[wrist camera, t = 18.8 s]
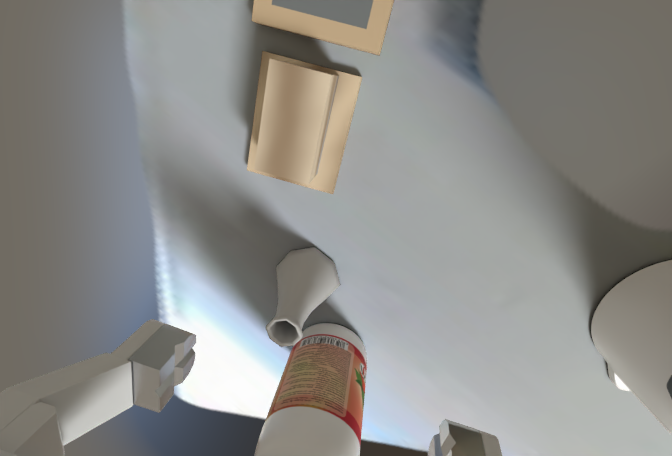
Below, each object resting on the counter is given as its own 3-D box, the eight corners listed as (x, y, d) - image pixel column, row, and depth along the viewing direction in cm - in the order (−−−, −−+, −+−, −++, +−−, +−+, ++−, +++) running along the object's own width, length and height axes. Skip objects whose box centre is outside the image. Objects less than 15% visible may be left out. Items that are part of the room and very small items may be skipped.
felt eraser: (339, 75, 30) (331, 75, 26) (317, 173, 33) (308, 184, 30) (284, 61, 30) (269, 58, 26) (268, 160, 34) (254, 169, 30)
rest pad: (362, 77, 30) (361, 77, 29) (333, 191, 35) (332, 194, 34) (265, 51, 30) (262, 50, 30) (250, 168, 35) (247, 170, 34)
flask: (266, 262, 39) (228, 317, 30) (317, 235, 37) (293, 285, 28) (301, 309, 41) (275, 373, 32) (351, 286, 39) (339, 348, 30)
